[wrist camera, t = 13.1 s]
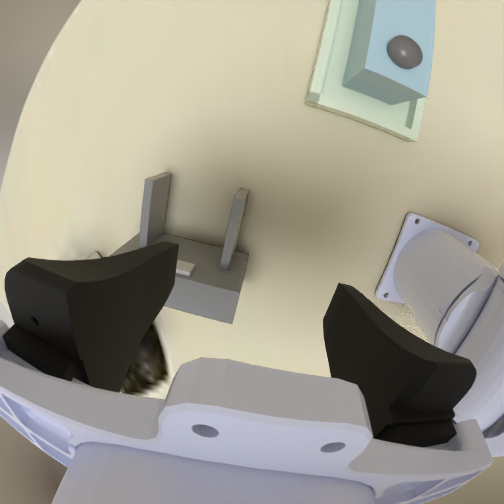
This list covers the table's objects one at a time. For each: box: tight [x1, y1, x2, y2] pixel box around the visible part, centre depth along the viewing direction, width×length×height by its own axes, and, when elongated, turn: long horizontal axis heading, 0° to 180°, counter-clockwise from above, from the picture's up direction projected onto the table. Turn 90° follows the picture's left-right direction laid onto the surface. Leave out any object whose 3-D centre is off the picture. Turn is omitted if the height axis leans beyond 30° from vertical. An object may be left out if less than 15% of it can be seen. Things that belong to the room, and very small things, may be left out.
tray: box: [305, 0, 426, 142], centre depth 14 cm, size 8×14×2 cm, turn 167°
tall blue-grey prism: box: [342, 0, 436, 105], centre depth 12 cm, size 4×9×6 cm, turn 167°
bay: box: [109, 173, 249, 324], centre depth 19 cm, size 9×8×6 cm
